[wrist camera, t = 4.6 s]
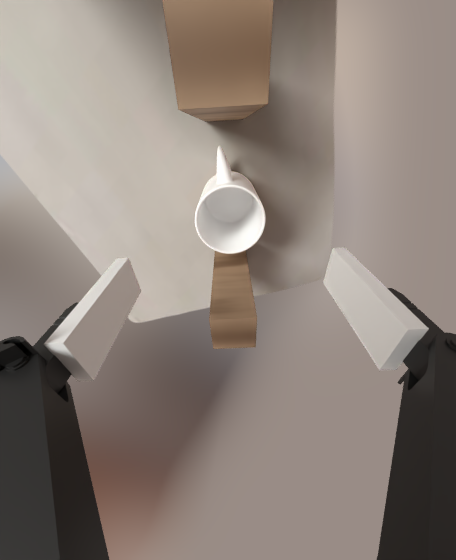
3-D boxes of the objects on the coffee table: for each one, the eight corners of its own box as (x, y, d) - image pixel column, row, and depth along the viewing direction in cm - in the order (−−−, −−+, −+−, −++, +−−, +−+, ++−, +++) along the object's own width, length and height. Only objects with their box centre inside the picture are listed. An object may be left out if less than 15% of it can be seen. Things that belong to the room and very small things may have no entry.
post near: (201, 69, 25) (155, -47, 9) (242, 66, 25) (275, -57, 8) (205, 121, 28) (178, 109, 11) (242, 119, 28) (268, 103, 11)
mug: (251, 137, 29) (262, 141, 20) (256, 220, 36) (266, 249, 27) (191, 148, 29) (177, 156, 21) (208, 227, 36) (203, 258, 28)
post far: (216, 238, 38) (209, 319, 21) (243, 237, 38) (257, 317, 21) (218, 261, 41) (213, 348, 24) (243, 260, 40) (255, 347, 24)
